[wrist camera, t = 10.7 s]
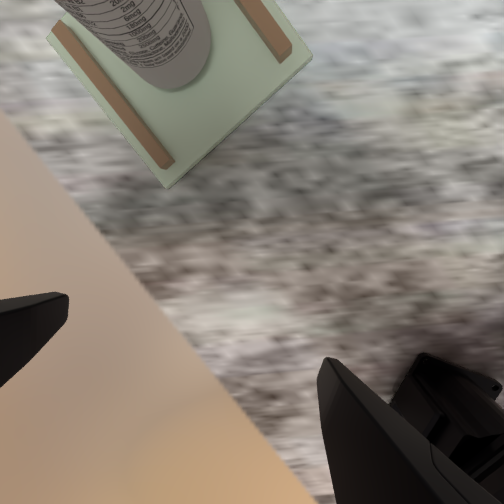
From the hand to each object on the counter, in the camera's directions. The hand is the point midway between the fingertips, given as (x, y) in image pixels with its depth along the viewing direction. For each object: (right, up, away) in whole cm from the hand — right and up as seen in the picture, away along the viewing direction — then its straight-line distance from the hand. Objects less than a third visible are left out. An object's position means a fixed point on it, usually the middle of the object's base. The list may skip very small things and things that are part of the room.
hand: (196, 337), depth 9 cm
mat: (-4, +18, +10) cm, 21 cm away
